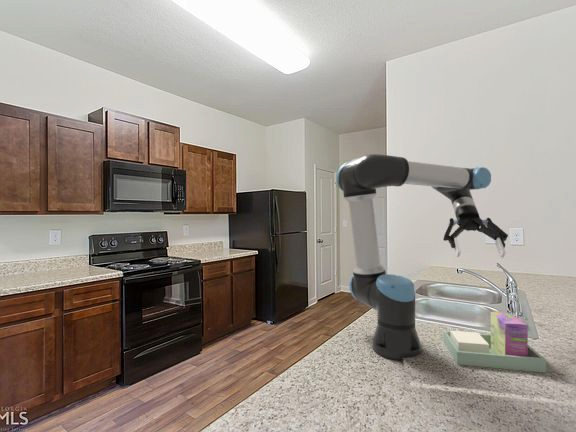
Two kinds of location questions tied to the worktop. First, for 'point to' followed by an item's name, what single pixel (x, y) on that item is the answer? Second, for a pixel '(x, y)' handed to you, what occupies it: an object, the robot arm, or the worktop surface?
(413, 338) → the robot arm
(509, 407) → the worktop surface
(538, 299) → the worktop surface
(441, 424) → the worktop surface
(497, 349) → the box
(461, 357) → the tote
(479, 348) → the carton
